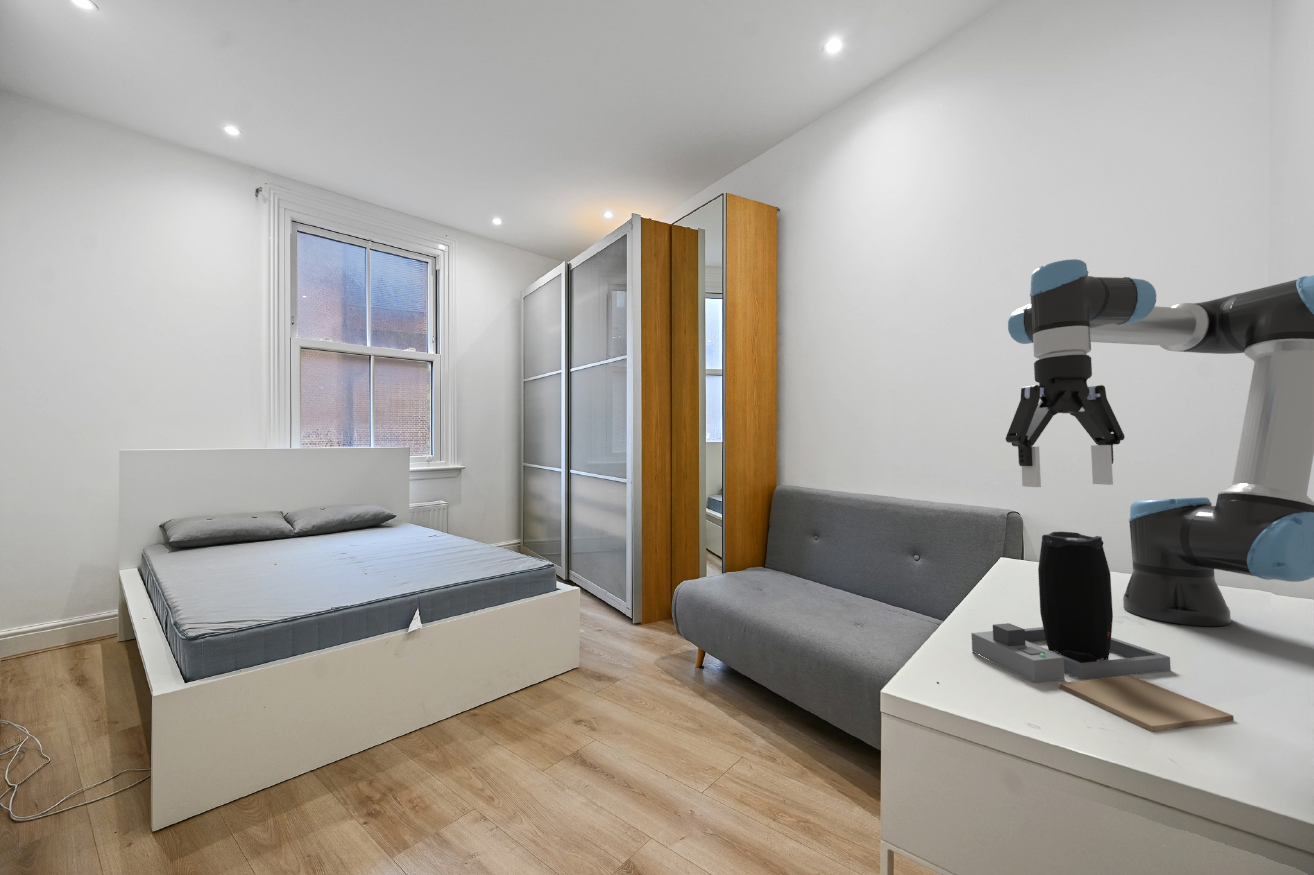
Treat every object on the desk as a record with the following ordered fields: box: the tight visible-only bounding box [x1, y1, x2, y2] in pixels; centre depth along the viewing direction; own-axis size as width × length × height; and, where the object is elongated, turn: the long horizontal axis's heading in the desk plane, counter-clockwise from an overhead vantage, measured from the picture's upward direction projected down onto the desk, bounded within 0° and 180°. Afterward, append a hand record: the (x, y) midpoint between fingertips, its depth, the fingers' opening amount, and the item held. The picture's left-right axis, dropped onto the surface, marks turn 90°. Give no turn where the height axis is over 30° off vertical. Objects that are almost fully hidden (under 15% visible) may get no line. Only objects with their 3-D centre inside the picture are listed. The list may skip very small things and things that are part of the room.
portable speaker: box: [1037, 531, 1114, 663], centre depth 85 cm, size 9×9×20 cm
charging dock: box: [1024, 626, 1172, 681], centre depth 85 cm, size 18×16×2 cm
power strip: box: [971, 622, 1065, 684], centre depth 82 cm, size 5×12×6 cm, turn 9°
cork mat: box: [1058, 675, 1234, 732], centre depth 69 cm, size 12×12×1 cm
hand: (1067, 485), depth 86 cm, fingers open, 13 cm apart
